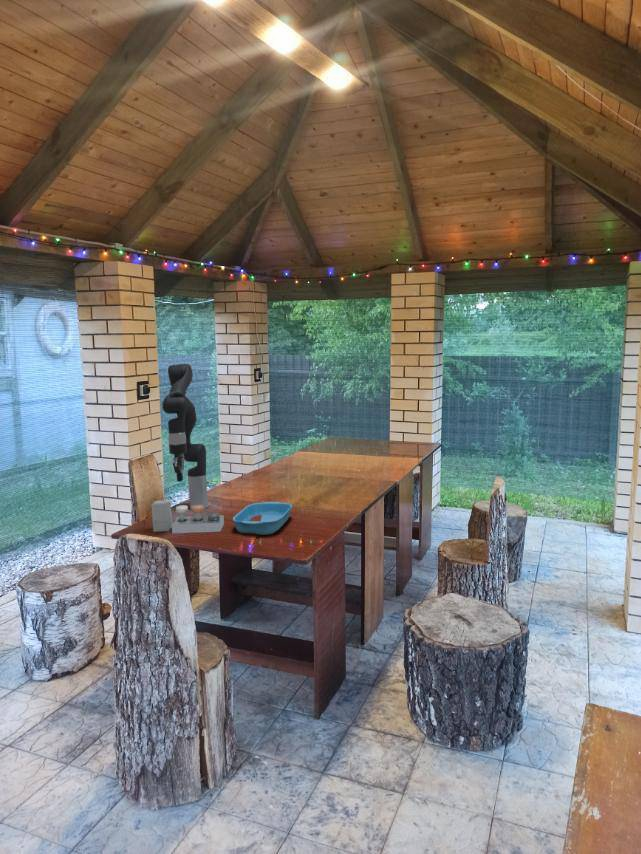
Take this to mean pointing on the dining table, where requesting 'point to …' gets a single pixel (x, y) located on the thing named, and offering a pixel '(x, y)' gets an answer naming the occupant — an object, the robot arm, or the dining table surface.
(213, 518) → the knob
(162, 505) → the supplement box
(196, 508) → the tan egg
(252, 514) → the casserole dish
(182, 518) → the grey oval piece
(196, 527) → the mount
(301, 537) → the dining table surface
